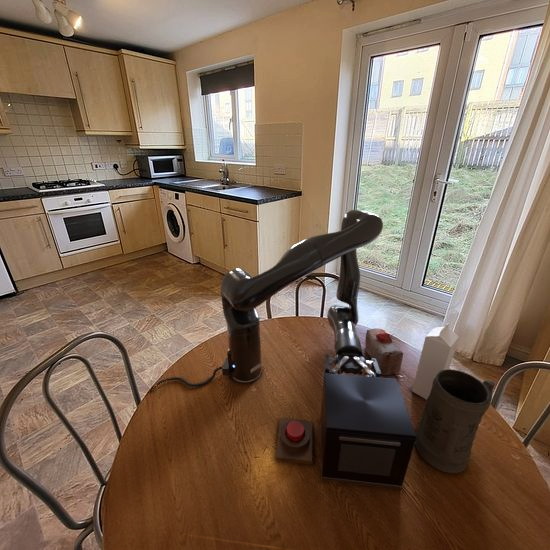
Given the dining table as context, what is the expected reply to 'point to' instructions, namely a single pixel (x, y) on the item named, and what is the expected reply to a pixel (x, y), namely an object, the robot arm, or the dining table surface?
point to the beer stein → (452, 419)
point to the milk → (434, 358)
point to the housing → (294, 444)
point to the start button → (295, 431)
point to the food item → (383, 351)
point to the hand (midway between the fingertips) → (354, 388)
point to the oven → (364, 431)
